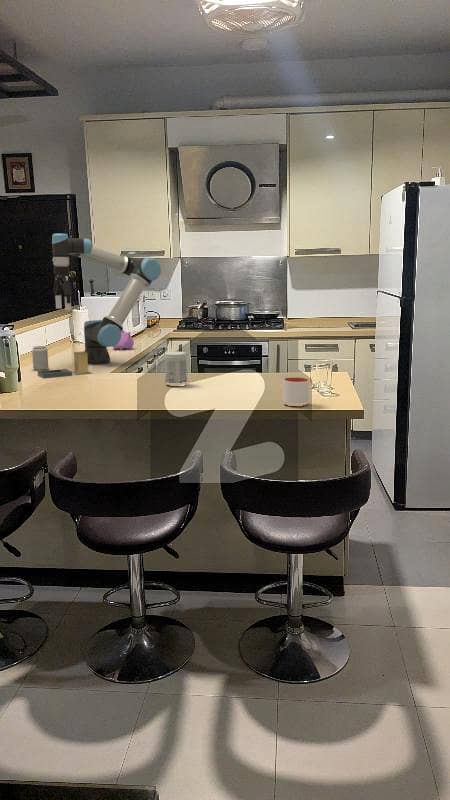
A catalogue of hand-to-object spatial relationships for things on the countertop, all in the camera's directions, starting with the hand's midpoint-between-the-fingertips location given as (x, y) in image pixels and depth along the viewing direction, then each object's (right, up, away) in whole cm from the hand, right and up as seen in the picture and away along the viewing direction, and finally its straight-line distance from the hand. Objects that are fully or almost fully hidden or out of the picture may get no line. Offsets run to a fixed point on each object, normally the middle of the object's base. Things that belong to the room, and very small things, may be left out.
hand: (63, 309), depth 309 cm
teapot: (+17, -13, +82) cm, 85 cm away
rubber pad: (+10, -32, -2) cm, 33 cm away
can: (-13, -30, +6) cm, 34 cm away
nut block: (+10, -32, -2) cm, 33 cm away
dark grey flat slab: (-2, -34, -10) cm, 35 cm away
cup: (+109, -48, -69) cm, 137 cm away
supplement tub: (+59, -39, -32) cm, 78 cm away
